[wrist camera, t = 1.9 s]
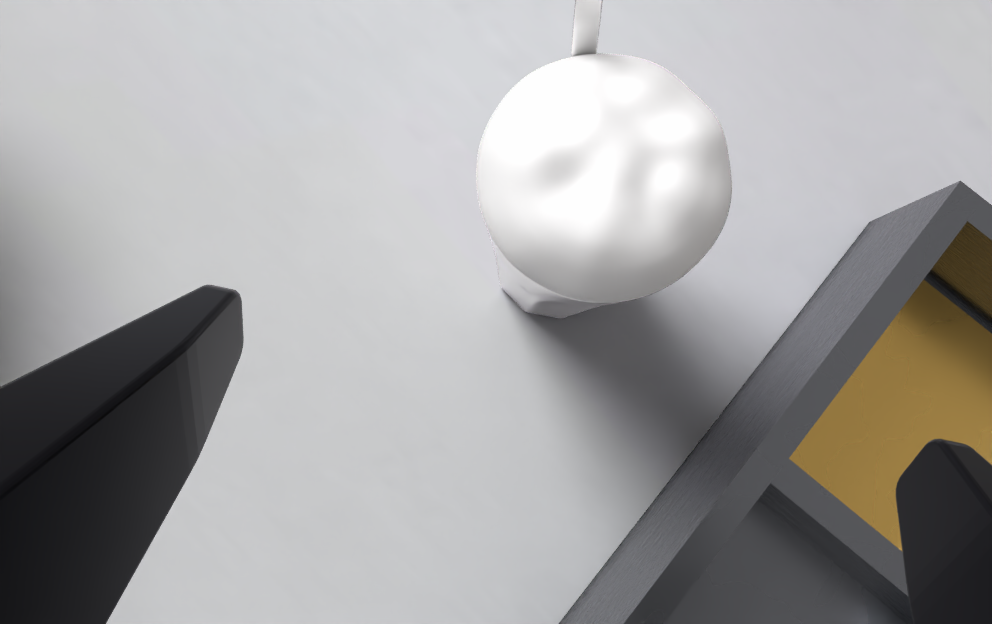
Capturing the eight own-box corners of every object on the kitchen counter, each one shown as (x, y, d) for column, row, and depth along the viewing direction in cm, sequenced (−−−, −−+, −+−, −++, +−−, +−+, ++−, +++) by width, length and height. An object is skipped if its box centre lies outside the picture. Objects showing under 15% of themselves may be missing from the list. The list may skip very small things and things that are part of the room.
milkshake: (612, 149, 22) (735, -68, 12) (642, 329, 21) (800, 261, 11) (457, 168, 21) (451, -37, 11) (484, 352, 21) (501, 303, 11)
